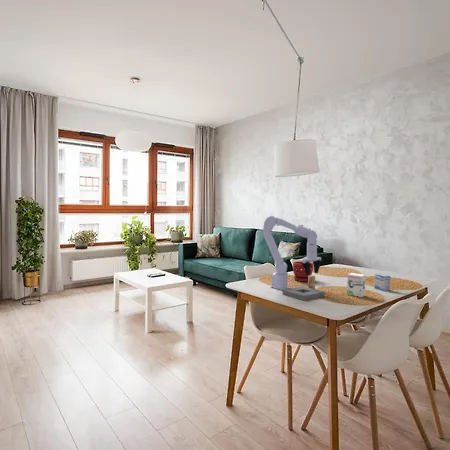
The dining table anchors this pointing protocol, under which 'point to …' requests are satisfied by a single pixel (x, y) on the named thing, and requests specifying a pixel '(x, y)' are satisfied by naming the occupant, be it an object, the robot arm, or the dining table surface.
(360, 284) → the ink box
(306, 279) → the plant pot
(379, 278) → the medicine box
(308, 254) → the robot arm
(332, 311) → the dining table surface
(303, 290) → the docking block
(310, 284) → the peg
